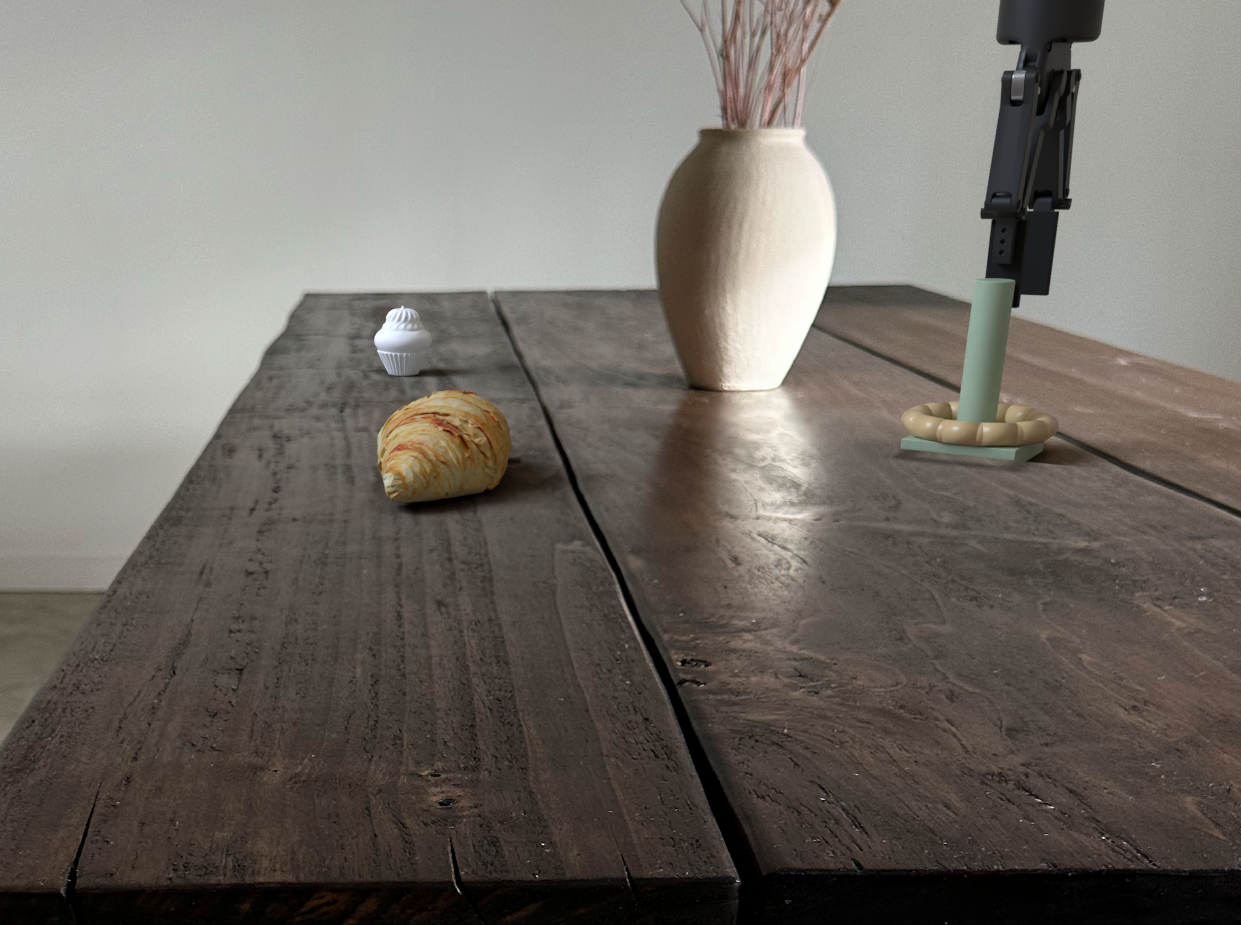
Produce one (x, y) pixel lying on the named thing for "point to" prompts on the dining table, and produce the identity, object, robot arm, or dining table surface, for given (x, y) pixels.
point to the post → (983, 372)
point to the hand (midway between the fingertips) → (1016, 300)
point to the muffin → (403, 342)
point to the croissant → (443, 447)
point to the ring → (980, 425)
